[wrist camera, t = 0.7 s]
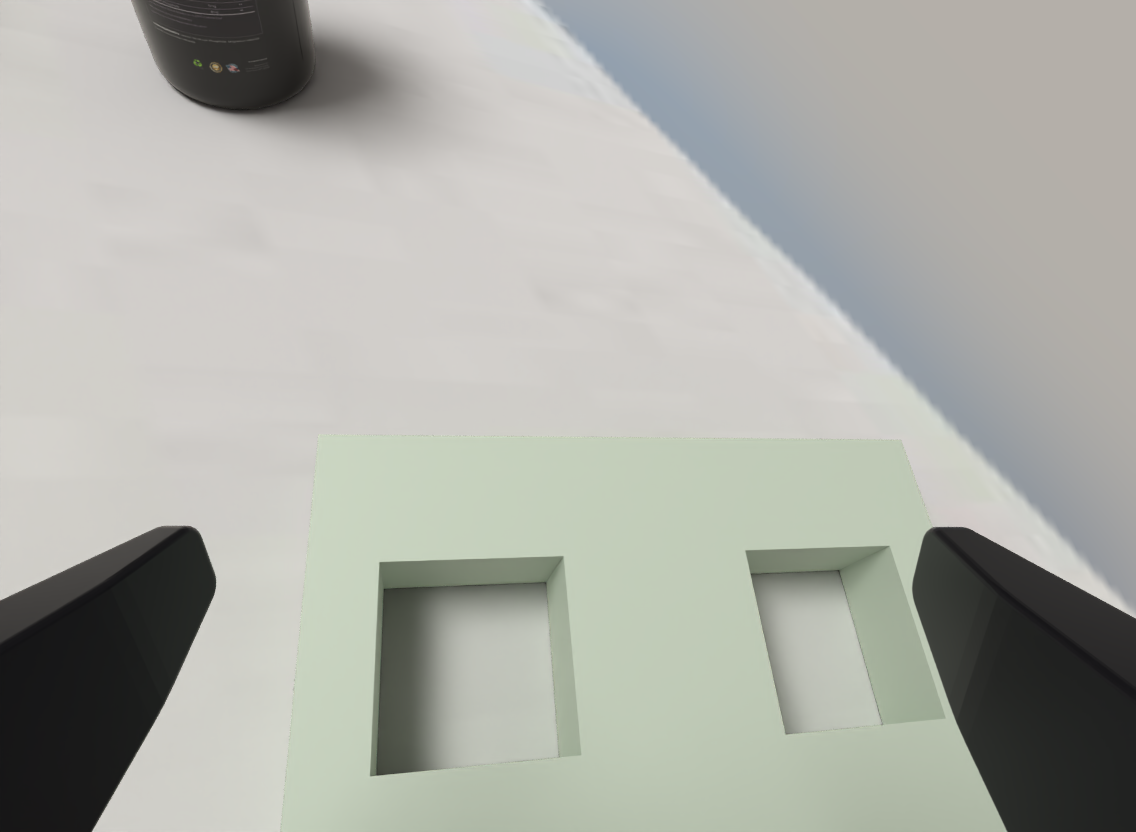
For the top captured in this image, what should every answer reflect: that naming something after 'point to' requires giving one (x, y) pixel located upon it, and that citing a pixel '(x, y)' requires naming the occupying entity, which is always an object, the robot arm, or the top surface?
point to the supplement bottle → (231, 48)
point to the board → (629, 634)
